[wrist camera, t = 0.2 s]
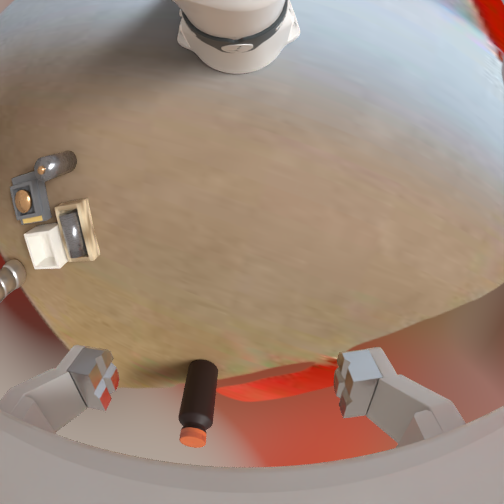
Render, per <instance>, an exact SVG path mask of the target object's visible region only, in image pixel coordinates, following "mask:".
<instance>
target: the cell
mask: <svg viewBox="0 0 504 504" xmlns="http://www.w3.org/2000/svg"><path fill="white" fill-rule="evenodd" d="M76 164H77V159H76V156H75V154H74V153H73V152H72V151H65V152H61V153H57V154H53V155H49V156H45V157H42V158H39V159H38V160H37V161H36V163H35V167H34V172H35V176H36V178H37V179H38V180H39V181H41V182H45V181H48V180H50V179H53V178H55V177H58V176H60V175H63V174H66V173H69V172H71V171H73V170H74V169H75V167H76Z"/></svg>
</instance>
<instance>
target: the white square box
mask: <svg viewBox="0 0 504 504" xmlns="http://www.w3.org/2000/svg"><path fill="white" fill-rule="evenodd" d="M24 237H25V240H26V244H27V247H28V250H29V253H30V257H31V260H32V263H33V266H34V269H54V268H61V267H62V266H63V265H64V264H65V263H66V262H67V261H68V258H67V255H66V251H65V248H64V244H63V240H62V237H61V233H60V229H59V225H58V222H56V223H49V224H43V225H37V226H36V227H34V228H33V229H31V230H30V231H28V232H27V233H25V234H24Z"/></svg>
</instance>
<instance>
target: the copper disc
mask: <svg viewBox="0 0 504 504" xmlns="http://www.w3.org/2000/svg"><path fill="white" fill-rule="evenodd" d="M15 204H16V207H17V209H18V210H19V211H20V212H21V213H26V212H28V211H29V210H30V209H31V207H32V198H31V195H30V193H29V192H28V191H27V190H25V189H22V190H19V191H18V192H17V193H16V196H15Z"/></svg>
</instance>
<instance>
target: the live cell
mask: <svg viewBox="0 0 504 504" xmlns="http://www.w3.org/2000/svg"><path fill="white" fill-rule="evenodd" d="M59 218H60V222H61V226H62V230H63V234H64V238H65V242H66V245H67V249H68V253H69V256H70V258H81V257H83V256H84V255H85V254H87V253H88V252H87V248H86V244H85V240H84V236H83V232H82V228H81V224H80V220H79V215H78V210H77V209H74V210H70V211H67V212H64V213H62V214H60V215H59Z"/></svg>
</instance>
